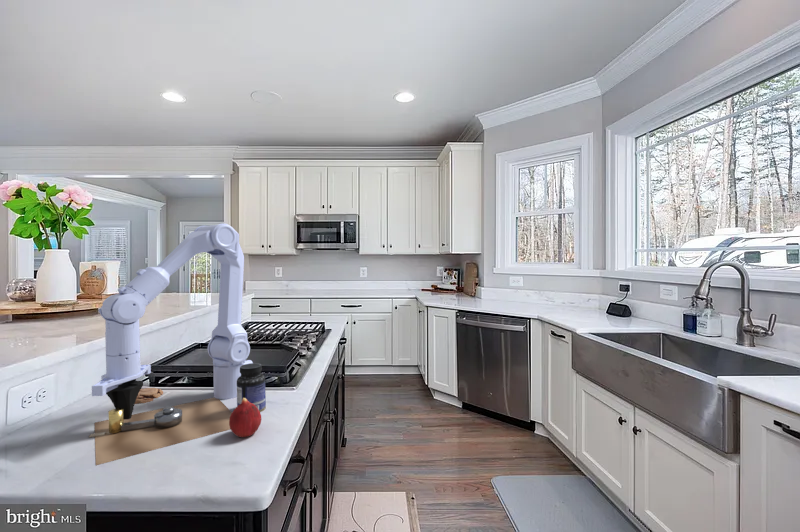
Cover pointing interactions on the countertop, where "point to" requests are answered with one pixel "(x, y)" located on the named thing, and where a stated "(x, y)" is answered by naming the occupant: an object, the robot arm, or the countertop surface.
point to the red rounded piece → (245, 419)
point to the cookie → (148, 395)
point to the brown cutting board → (161, 430)
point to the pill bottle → (252, 385)
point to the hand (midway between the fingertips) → (124, 418)
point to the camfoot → (160, 420)
